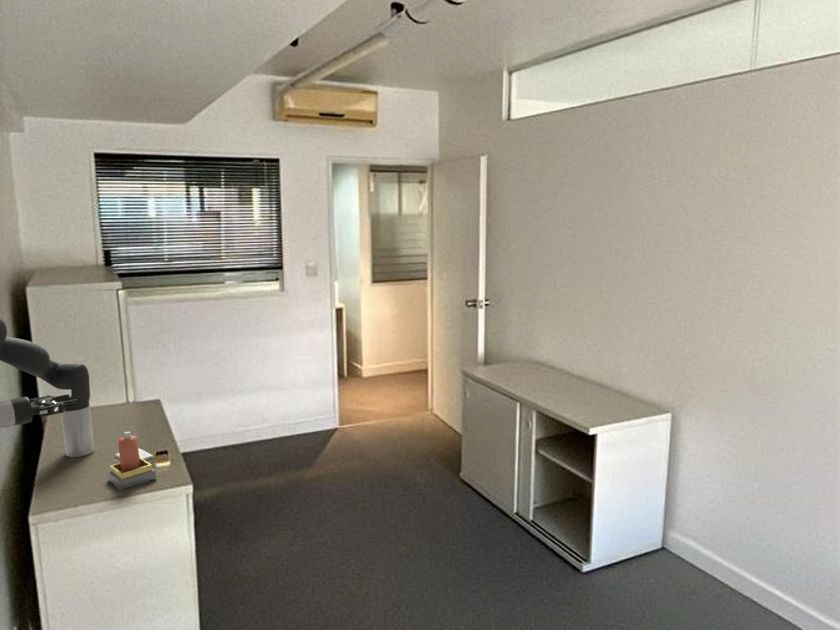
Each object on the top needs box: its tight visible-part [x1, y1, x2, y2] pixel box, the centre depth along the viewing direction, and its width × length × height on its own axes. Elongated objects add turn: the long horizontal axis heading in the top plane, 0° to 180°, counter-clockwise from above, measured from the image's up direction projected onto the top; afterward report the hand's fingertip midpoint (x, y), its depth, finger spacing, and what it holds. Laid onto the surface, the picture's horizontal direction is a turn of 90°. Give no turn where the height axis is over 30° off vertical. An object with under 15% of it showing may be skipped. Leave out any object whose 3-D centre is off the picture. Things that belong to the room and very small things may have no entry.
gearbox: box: [107, 457, 157, 491], centre depth 197 cm, size 11×11×5 cm
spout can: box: [117, 431, 140, 473], centre depth 196 cm, size 6×6×13 cm
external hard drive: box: [114, 447, 155, 461], centre depth 217 cm, size 2×8×12 cm
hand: (73, 400), depth 183 cm, fingers open, 8 cm apart
